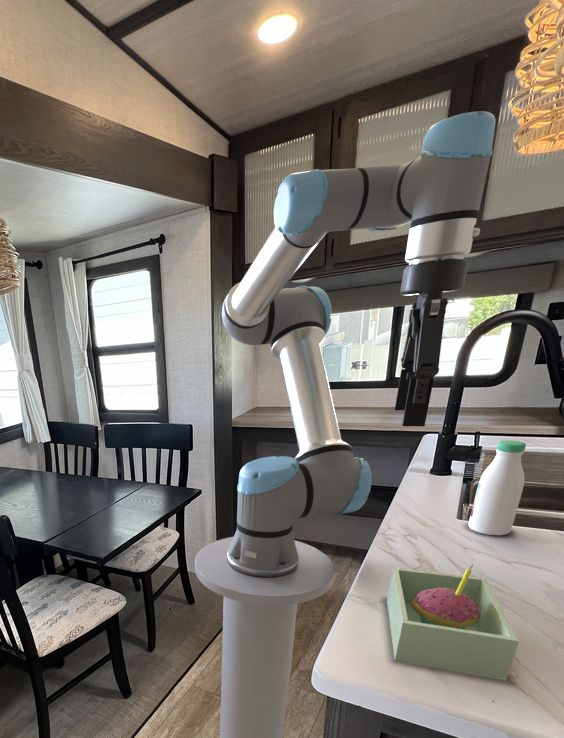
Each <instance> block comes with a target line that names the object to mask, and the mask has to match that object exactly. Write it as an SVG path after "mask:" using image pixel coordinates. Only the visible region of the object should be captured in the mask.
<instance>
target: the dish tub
mask: <svg viewBox="0 0 564 738" xmlns="http://www.w3.org/2000/svg"><path fill="white" fill-rule="evenodd" d="M390 575H391V576H390V581H389V587H388V591H387V596H386V604H387V605H386V606H387V611H388V613H387V614H388V621H389V627H390V634H391V642H392V650H393V658H394V661H397V662H403V663H407V664H411V665H418V666H423V667H424V666H425V667H429V668H435V669H440V670H444V671H450V672H456V673H459V674H460V673H462V674H466V675H467V674H468V675H471V676H476V677H477V676H478V677H483V678H488V679H492V680H498V681H503V682H507V678H508V675H509V673H510V669H511V666H512V663H513V660H514V657H515V654H516V651H517V648H518V646H519V643H520V640H519V638H518V636H517V634H516V632H515V630H514V629H513V627H512V625H511V623H510V621H509V620H508V618H507V615H506V614H505V613H506V612H505V611H504V609H503V608H502V606H501V604H500V602H499V600H498V598H497V596H496V595H495V593H494V590H493V589H492V587H491V584H490V583H489V581H488V578H485V577H478V576H471V575H470V576H469V578H468V580H467V582H466V584H465V586H464V589H463V591H462V593H463V594H465V595H468V596H469V597H471V599H473V600H474V601H477V605H478V606H479V607H480V609H481V611H480V619H479V621H478V622H477V623H476V624H474V625H470V626H467V627H466V628H465V629H457V628H451V627H444V626H438V625H432V624H425V623H421V619H420V616H419V614H418V613H417V612H416V611H414V610H413V608H412V602H413V600H414V599H415V598H414V597H415V596H416V595H417V593H418V592H420V591H423V590H426V589H428V588H429V589H431V588H439V587H441V588H445V587H447V588H452V589H455V590H456V591H457V589H458V587H459V584H460V582H461V580H462V578H463V576H464V575H462V574H461V575H460V574H453V573H452V574H451V573H443V572H435V571H426V570H417V569H409V568H399V567H392V571H391V574H390Z"/></svg>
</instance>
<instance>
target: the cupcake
mask: <svg viewBox="0 0 564 738" xmlns="http://www.w3.org/2000/svg"><path fill="white" fill-rule="evenodd" d="M473 566H474V564H473V563H472V564H471V565H470V566H469V567H468V568H466V569H465V572H464V573H463V575H462V576H463V578H462V580H461V582H460V584H459V587H458V589H457V591H456V590H455V589H452V588H447V587H445V588H441V587H439V588H431V589H429V588H428V589H426V590H423V591H420V592H418V593H417V595H416V596H415V597H414V598H415V599H414V600H413V602H412V608H413V610H414V611H416V612H417V613H418V614H419V616H420V619H421V623H425V624H432V625H438V626H444V627H451V628H457V629H465V628H466V627H467V626H470V625H474V624H476V623H477V622H478V621H479V619H480V611H481V609H480V607H479V606H478V605H477V601H474V600H473V599H471V597H469V596H468V595H465V594H463V593H462V591H463V589H464V586H465V584H466V582H467V580H468V578H469V576H470V577H471V573H472V572H473V569H472V568H473Z"/></svg>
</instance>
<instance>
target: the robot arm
mask: <svg viewBox="0 0 564 738" xmlns="http://www.w3.org/2000/svg"><path fill="white" fill-rule="evenodd" d="M495 129H496V116H495V115H494V114H493V113H492V112H489V111H485V110H482V111H481V110H480V111H478V110H477V111H470V112H463V113H459V114H456V115H453V116H450V117H446V118H444V119H442V120H440V121H438V122H436V123H434V124H433V125H432V126H430V127H429V129H428V130H427V132H426V134H425V135H424V140H423V143H422V146H421V148H420V155H419V156H418V157H416V158H415V159H413V160H410V161H408V162H407V163H406V162H405V163H402V164H398V165H382V166H381V165H380V166H368V167H366V166H365V167H356V168H355V167H354V168H337V169H336V168H332V169H309V170H306V171H299V172H294V173H293V172H292V173H290V174H288V175H287V176H286V177H285V178H284V179H282V182H280V185H279V187H278V189H277V195H276V197H275V200H274V206H273V222H274V223H273V224H274V227H273V229H272V230H271V232H270V233H269V235H268V237H267V238H266V240H265V242H264V243H263V245H262V247H261V248H260V250H259V252H258V253H257V255H256V257H254V260H253V261H252V263H251V264H250V266H249V268H248V270H247V271H246V272H245V274H244V275H243V278H242V279H241V280H240V282H238V283H236V284H234V285H233V286H232V287H231V288H230V289H229V291H228V293H227V295H226V296H225V299H224V300H223V304H222V307H221V320H222V323H223V327H224V329H225V330H226V332H227V333H228V334H229V336H231V338H232V339H234V340H236V341H237V342H239V343H240V344H244V345H249V346H261V345H270V350H271V354H272V356H273V357H274V358H276V359H278V360H280V364H281V368H282V373H283V377H284V378H283V379H284V383H285V388H286V392H287V398H288V403H289V406H290V407H289V408H290V413H291V416H292V421H293V422H292V423H293V426H294V431H295V434H296V440H297V447H298V450H299V452H298V453H297V455H296V456H295V457H291V456H285V455H281V456H276V455H273V456H265V457H260V458H257V459H254V460H251V461H249V462H247V463H246V464H245V465H244V466H242V468H241V469H240V471H239V474H238V484H237V487H236V489H237V510H236V511H237V512H236V513H237V514H236V531H235V532H234V535H233V537H234V538H233V540H232V543H231V545H230V548H229V550H228V557H227V561H228V564H229V566H230V567H231V568H232V569H234V570H235V571H237V572H239V573H242V574H244V575H248V576H252V577H258V578H277V577H282V576H286V575H289V574H291V573H293V572H294V571H295V570H296V569H297V567H298V560H299V556H298V553H297V549H296V545H295V542H294V540H295V537H294V534H293V524H294V519H302V518H304V519H305V518H315V517H323V516H324V517H325V516H340V515H343V514H350V513H355V512H357V511H358V510H360V509H361V508H362V507H363V506H364V505H365V503H366V501H367V500H368V497H369V494H370V492H371V488H372V480H373V479H372V478H373V477H372V471H371V467H370V464H369V463H368V462H367V461H366V459H365V458H362V457H359V456H354V452H353V447H352V445H351V444H349V443H347V442H345V441H343V440H342V436H341V431H340V427H339V423H338V418H337V414H336V409H335V405H334V401H333V397H332V392H331V389H330V388H331V387H330V383H329V379H328V374H327V370H326V366H325V362H324V356H323V354H322V349H321V345H322V344H323V343H324V341H325V339H326V335H327V334H328V332H329V330H330V327H331V323H332V318H331V315H332V314H333V313H332V312H333V311H332V310H333V309H332V304H331V301H330V297H329V296H328V294H327V292H326V291H325V290H323V289H322V288H321V287H318V286H307V285H301V286H299V285H298V286H296V287H291V288H290V287H286V288H284V287H285V286H286V284H287V283H288V282H289V281H290V280H291V278H292V277H293V276H294V275H295V273H296V272H297V271H298V269H299V268H300V267H301V266H302V264H303V263H304V262H305V261H306V259H307V258H308V257H309V256H310V254H311V253H312V252H313V251H314V249H315V248H316V247H317V245H318V244H319V243H320V242H321V241H322V240H323V239H324V237H325V236H326V235H327V234H328V233H329V232H340V231H353V230H364V229H365V230H369V231H370V232H373V233H374V232H375V233H380V232H385V231H392V230H395V229H397V228H400V227H402V226H405V225H407V224H410V228H409V231H408V235H407V236H408V237H407V244H406V250H405V257H404V261H405V262H406V263H408V265H406V266H405V268H404V269H403V272H402V279H401V285H400V291H399V292H400V295H402V296H415V295H416V296H417V295H418V298H417V300H416V301H413V303H412V305H411V309H410V310H409V316H408V326H407V334H406V338H405V343H404V348H403V353H402V357H401V358H400V362H401V369H400V373H399V374H400V375H399V381H398V386H397V392H396V399H395V404H394V411H403V419H402V424H401V426H402V427H425V426H426V421H427V416H428V411H429V405H430V400H431V395H432V390H433V385H434V380H435V377H436V376H437V375H438V374H439V372H440V368H439V367H440V359H441V350H442V342H443V333H444V323H445V315H446V314H447V313H446V311H447V306H448V305H449V300H448V298H447V297H444V298H443V294H444V293H449V292H450V293H451V292H457V291H458V292H459V291H460V290H462V289H463V288H464V286H465V283H466V277H467V272H468V268H469V261H468V259H466V258H465V256H467V255H468V254H469V253H471V250H472V245H473V241H474V239H473V237H478V236H479V235H480V232H481V228H480V227H475V226H476V224H477V219H478V218H479V217H478V216H479V212H480V209H481V204H482V203H481V202H482V199H483V193H484V189H485V184H486V180H487V175H488V170H489V166H490V162H491V158H492V157H491V156H492V155H493V152H494V151H493V145H494V137H495Z"/></svg>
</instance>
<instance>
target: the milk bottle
mask: <svg viewBox="0 0 564 738" xmlns="http://www.w3.org/2000/svg"><path fill="white" fill-rule="evenodd" d="M526 446H527V444H526V442H524V441H519V440H500V441H498V442H497V445H496V450H495V452H496V455H495V457H494V458H493V460H492V461H491V463H490V464H489V465H488V466H487V467H486V468H485V470H484V471H483V472H482V474H481V476H480V479H479V482H478V485H477V488H476V492H475V497H474V499H473V504H472V508H471V512H470V516H469V519H468V527H469V529H470V530H472V531H474V532H476V533H479V534H483V535H488V536H489V535H491V536H504V535H508V534H509V533H511V531H512V528H513V525H514V522H515V519H516V515H517V511H518V508H519V504H520V501H521V497H522V494H523V490H524V486H525V471H524V469H523V465H522V455H524V453H525V450H526Z"/></svg>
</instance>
